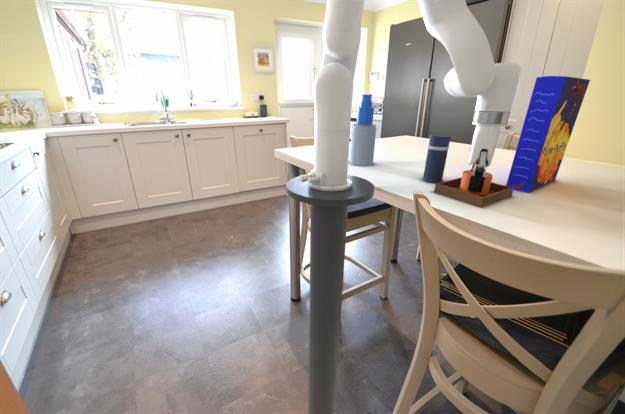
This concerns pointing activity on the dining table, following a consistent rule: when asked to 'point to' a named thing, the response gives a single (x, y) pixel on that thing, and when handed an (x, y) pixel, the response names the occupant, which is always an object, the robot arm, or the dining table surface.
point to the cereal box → (546, 131)
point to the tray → (494, 194)
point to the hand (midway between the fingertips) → (474, 186)
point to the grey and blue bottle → (363, 134)
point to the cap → (466, 180)
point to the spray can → (436, 158)
